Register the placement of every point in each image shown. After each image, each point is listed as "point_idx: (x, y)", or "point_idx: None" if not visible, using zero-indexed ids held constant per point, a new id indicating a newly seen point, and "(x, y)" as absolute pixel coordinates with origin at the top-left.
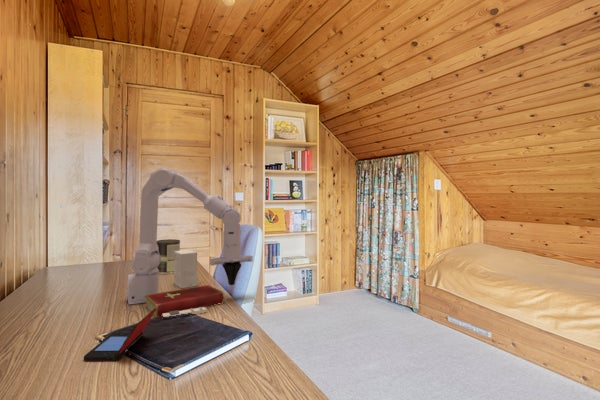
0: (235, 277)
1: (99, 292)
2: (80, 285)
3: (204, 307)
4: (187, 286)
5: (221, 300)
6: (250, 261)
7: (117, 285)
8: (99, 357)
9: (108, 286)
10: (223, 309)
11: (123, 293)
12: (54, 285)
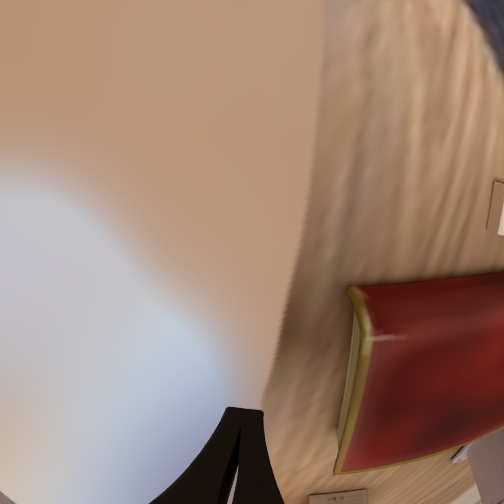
0: (206, 454)
1: None
2: (471, 496)
3: (501, 225)
4: (344, 494)
5: (374, 293)
6: (9, 502)
7: (442, 501)
8: None
9: (455, 496)
10: (407, 168)
11: None
12: None
